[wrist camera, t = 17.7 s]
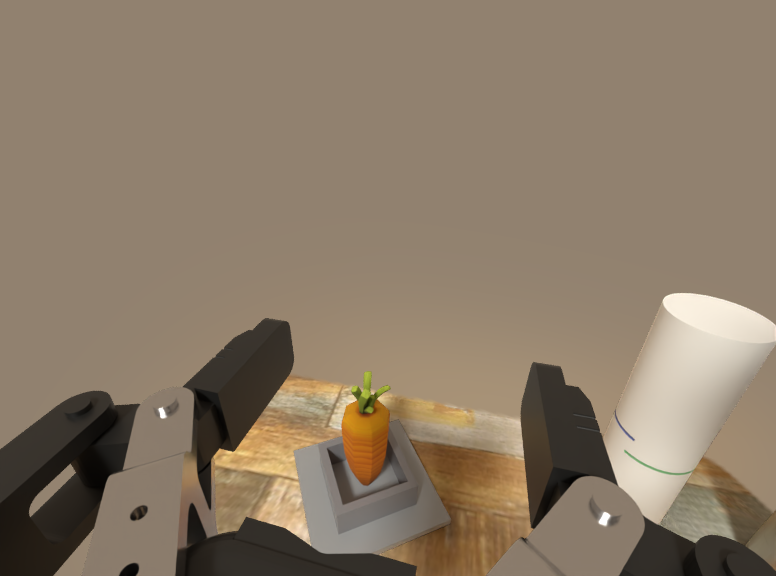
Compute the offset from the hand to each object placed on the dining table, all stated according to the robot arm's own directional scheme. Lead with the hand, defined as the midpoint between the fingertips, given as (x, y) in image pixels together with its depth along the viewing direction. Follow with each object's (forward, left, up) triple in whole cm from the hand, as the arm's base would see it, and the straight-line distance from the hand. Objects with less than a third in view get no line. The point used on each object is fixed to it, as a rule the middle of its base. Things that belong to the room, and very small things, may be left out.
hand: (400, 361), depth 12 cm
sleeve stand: (-4, -16, -32) cm, 36 cm away
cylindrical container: (-29, -4, -32) cm, 43 cm away
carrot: (-4, -16, -31) cm, 35 cm away
